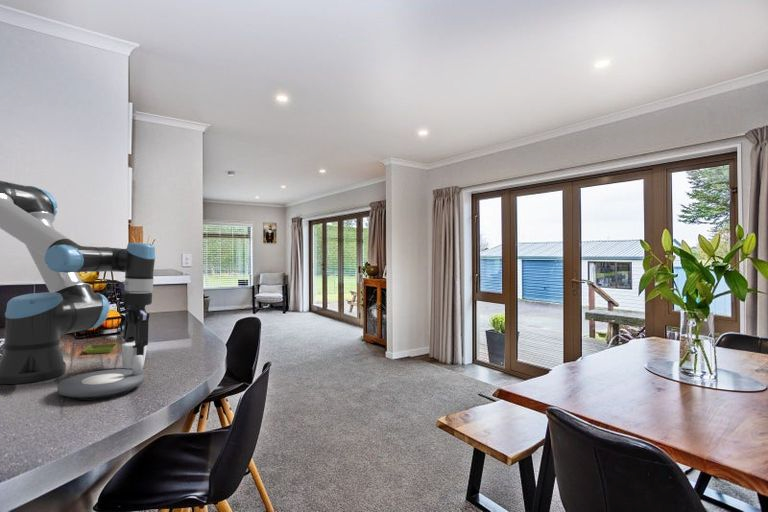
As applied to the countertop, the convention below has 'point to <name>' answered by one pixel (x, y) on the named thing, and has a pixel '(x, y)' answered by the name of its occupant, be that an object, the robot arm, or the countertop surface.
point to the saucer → (100, 348)
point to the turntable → (103, 381)
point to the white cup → (129, 354)
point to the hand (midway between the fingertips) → (133, 365)
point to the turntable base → (101, 396)
